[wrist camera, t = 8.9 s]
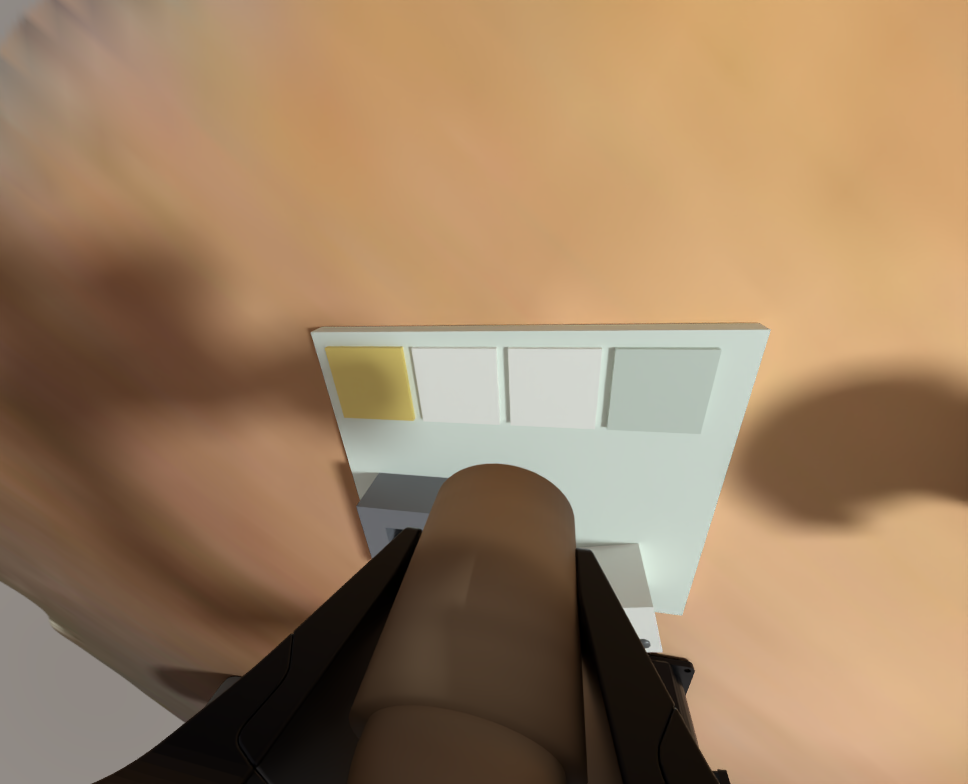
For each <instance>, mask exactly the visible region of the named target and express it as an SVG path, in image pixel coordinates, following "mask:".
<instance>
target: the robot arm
mask: <svg viewBox="0 0 968 784" xmlns="http://www.w3.org/2000/svg"><path fill="white" fill-rule="evenodd" d="M421 534H422V529H421V528H416V527H407V528H405V529H404V530H403V531H402V532H400V533H399V534H398V535H397V536H396V537H395V538H394V539H393V540H392V541H391V542H390V543H389V544H387V545H386V546H385V547H384V548H383V549H382V550H381V551H380V552H379V553H378V554H377V555H376V556H375V557H373V558H372V559H371V560H370V561H369V562H368V563H367V564H366V565H365V566H364V567H363V568H362V569H360V570H359V571H358V572H357V573H356V574H355V575H354V576H353V577H352V578H351V579H350V580H349V581H347V582H346V583H345V584H344V585H343V586H342V587H341V588H340V589H339V590H338V591H337V592H336V593H334V594H333V595H332V596H331V597H330V598H329V599H328V600H327V601H326V602H325V603H324V604H323V605H321V606H320V607H319V608H318V609H317V610H316V611H315V612H314V613H313V614H312V615H311V616H310V617H309V618H307V619H306V620H305V621H304V622H303V623H302V624H301V625H300V626H299V627H298V628H297V629H296V630H295V631H294V634H290V635H289V636H288V637H287V638H286V639H285V640H283V641H282V642H281V643H280V644H279V645H278V646H277V647H276V648H275V649H274V650H272V651H271V652H270V653H269V654H268V655H267V656H266V657H265V658H264V659H262V660H261V661H260V662H259V663H258V664H257V665H256V666H255V667H253V668H252V669H251V670H250V671H249V672H247V673H246V674H245V675H244V676H243V677H241V678H240V679H239V680H238V681H236V682H235V683H234V684H233V685H232V686H230V687H229V688H228V689H227V690H226V691H224V692H223V693H222V694H221V695H219V696H218V697H217V698H216V699H214V700H213V701H212V702H211V703H209V704H208V705H207V706H206V707H204V708H203V709H202V710H201V711H199V712H198V713H197V714H196V715H194V716H193V717H192V718H191V719H189V720H188V721H187V722H186V723H184V724H183V725H182V726H181V727H179V728H178V729H177V730H176V731H174V732H173V733H172V734H171V735H170V736H168V737H167V738H166V739H164V740H163V741H162V742H161V743H159V744H158V745H157V746H155V747H154V748H153V749H151V750H150V751H149V752H147V753H146V754H144V755H143V756H141V757H140V758H139V759H137V760H135V761H134V762H132V763H131V764H129V765H127V766H126V767H124V768H122V769H120V770H119V771H117V772H115V773H114V774H111V775H109V776H107V777H105V778H103V779H101V780H99V781H97V782H94V783H92V784H347V780H348V775H349V771H350V766H351V762H352V759H353V756H354V753H355V749H356V746H357V743H358V741H359V738H358V737H357V736H356V735H355V733H354V732H353V730H352V728H351V726H350V723H349V713H350V710H351V708H352V705H353V703H354V700H355V698H356V695H357V693H358V690H359V688H360V685H361V683H362V680H363V678H364V675H365V673H366V670H367V668H368V665H369V663H370V660H371V658H372V655H373V653H374V651H375V648H376V646H377V643H378V641H379V638H380V636H381V633H382V631H383V628H384V626H385V623H386V621H387V618H388V616H389V613H390V611H391V608H392V606H393V603H394V601H395V598H396V596H397V593H398V591H399V588H400V586H401V583H402V581H403V578H404V576H405V573H406V571H407V568H408V566H409V563H410V561H411V558H412V556H413V553H414V551H415V549H416V546H417V544H418V541H419V539H420V536H421ZM575 556H576V579H577V598H578V610H579V620H580V636H581V655H582V675H583V695H584V715H585V734H586V754H587V774H588V784H730V781H729V778H728V774H727V771H726V770H720V769H717V770H718V771H712V770H711V769H710V767H709V765H708V763H707V762H706V760H705V758H704V756H703V754H702V753H701V751H700V749H699V746H698V742H697V738H696V734H695V730H694V727H693V723H692V719H691V715H690V711H689V707H688V703H687V700H686V693H687V690H688V688H689V685H690V683H691V680H692V677H693V675H694V672H695V670H694V667H693V664H692V663H690V662H687V661H681V660H675V659H669V658H662V657H656V656H650V655H648V654H647V652H646V650H645V648H644V646H643V644H642V642H641V641H640V639H639V637H638V635H637V633H636V631H635V629H634V628H633V626H632V624H631V622H630V620H629V618H628V616H627V615H626V613H625V611H624V609H623V607H622V605H621V603H620V601H619V600H618V598H617V596H616V594H615V592H614V590H613V588H612V587H611V585H610V583H609V581H608V579H607V577H606V575H605V574H604V572H603V570H602V568H601V566H600V564H599V562H598V561H597V559H596V557H595V555H594V553H593V552H592V551H591V550H590V549H583V548H576V549H575Z"/></svg>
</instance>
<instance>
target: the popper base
mask: <svg viewBox="0 0 968 784" xmlns="http://www.w3.org/2000/svg"><path fill="white" fill-rule="evenodd" d="M447 479H448V478H443V477H430V476H417V475H404V474H391V473H378V475H377V476H376V478H375V479H374V481H373V482H372V484H371V485H370V487H369V488H368V490H367V491H366V493H365V494H364V496H363V497H362V499H361V500H360V502H359V503H358V504H357V506H356V507H357V511H358V514H359V517H360V520H361V524H362V527H363V530H364V534H365V537H366V540H367V544H368V547H369V550H370V553H371V557H372V558H373V557H375V556H376V555H377V554H378V553H379V552H380V551H381V550H382V549H383V548H384V547H385V546H386V545H387V544H389V543H390V542H391V541H392V540H393V539H394V538H395V537H396V536H397V535H398V534H399V533H400V532H402V531H403V530H404V529H405V528H407V527H416V528H421V529H422V531H423V529H424V526H425V524H426V521H427V519H428V516H429V514H430V511H431V509H432V506H433V504H434V501H435V499H436V496H437V494H438V491H439V489H440V488H441V486H442V484H443V483H444V482H445V481H446V480H447Z"/></svg>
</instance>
